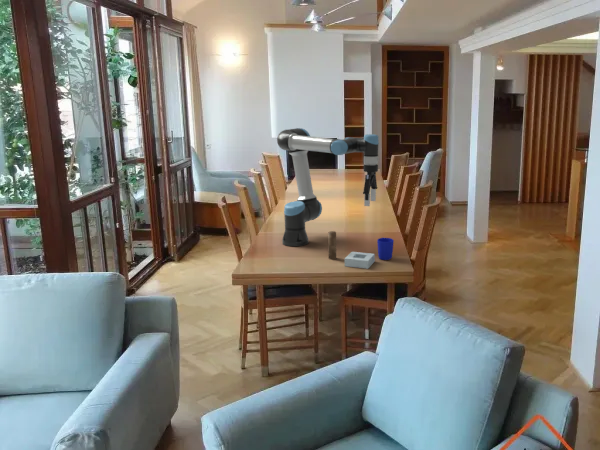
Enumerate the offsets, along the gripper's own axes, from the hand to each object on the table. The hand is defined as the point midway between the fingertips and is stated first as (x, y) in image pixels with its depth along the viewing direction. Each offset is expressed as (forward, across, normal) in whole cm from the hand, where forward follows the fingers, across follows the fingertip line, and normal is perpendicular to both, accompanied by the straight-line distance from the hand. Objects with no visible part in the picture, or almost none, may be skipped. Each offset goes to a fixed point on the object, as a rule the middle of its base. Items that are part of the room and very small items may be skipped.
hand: (370, 203), depth 277 cm
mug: (+25, -14, -12) cm, 31 cm away
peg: (+25, -23, +14) cm, 37 cm away
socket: (+25, -28, -2) cm, 37 cm away
